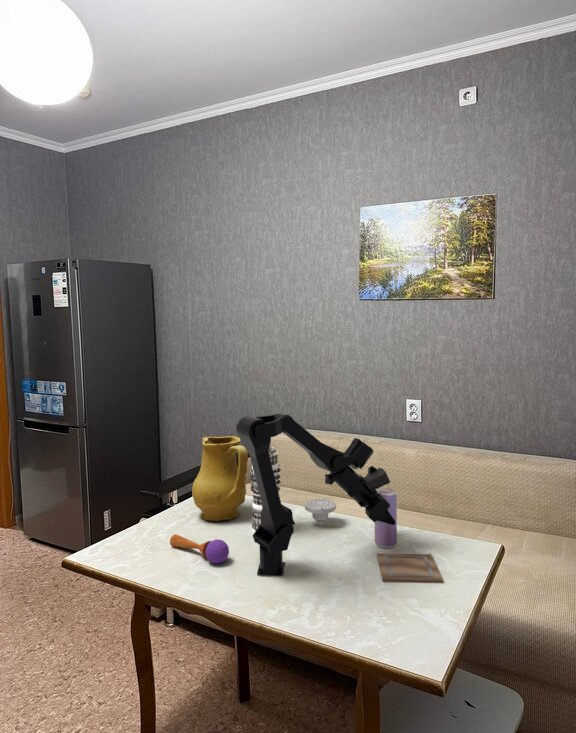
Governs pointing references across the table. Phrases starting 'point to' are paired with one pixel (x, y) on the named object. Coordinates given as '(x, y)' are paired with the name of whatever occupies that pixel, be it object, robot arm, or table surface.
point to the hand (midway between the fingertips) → (390, 519)
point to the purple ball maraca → (204, 548)
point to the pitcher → (221, 478)
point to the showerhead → (320, 509)
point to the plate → (408, 568)
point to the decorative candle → (254, 490)
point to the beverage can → (384, 531)
